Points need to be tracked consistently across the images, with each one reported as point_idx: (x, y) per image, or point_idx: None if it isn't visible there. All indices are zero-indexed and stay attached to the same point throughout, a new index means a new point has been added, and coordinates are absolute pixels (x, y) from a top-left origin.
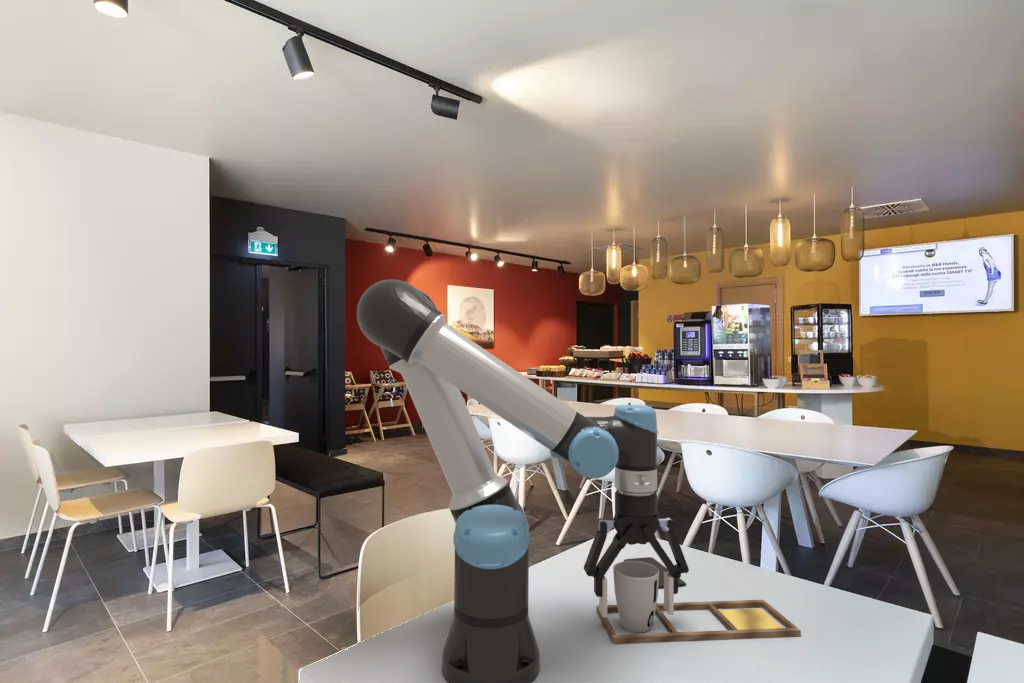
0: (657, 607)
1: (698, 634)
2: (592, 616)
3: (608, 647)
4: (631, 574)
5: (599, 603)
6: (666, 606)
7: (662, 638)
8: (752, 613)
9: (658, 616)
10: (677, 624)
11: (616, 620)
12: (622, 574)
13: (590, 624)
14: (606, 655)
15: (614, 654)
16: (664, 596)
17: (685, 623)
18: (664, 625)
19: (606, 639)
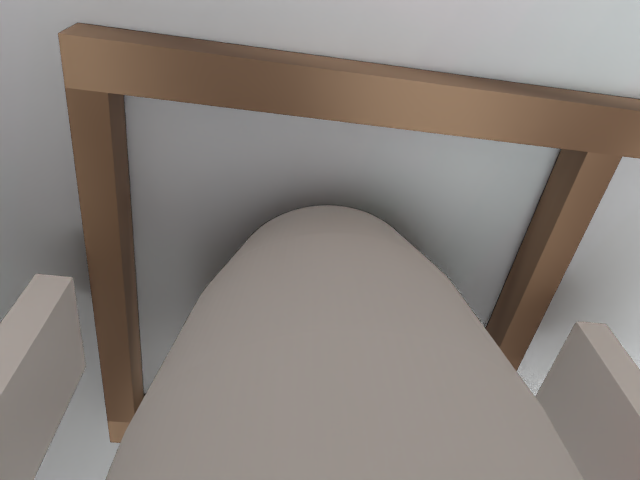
0: (597, 184)
1: None
2: (30, 114)
3: (87, 430)
4: (424, 448)
5: (7, 318)
6: (570, 385)
7: None
8: None
9: (529, 241)
10: (580, 313)
11: (214, 207)
12: (262, 466)
13: (4, 224)
14: (66, 471)
15: (105, 469)
16: (619, 405)
17: (634, 311)
18: (490, 324)
19: (90, 378)
